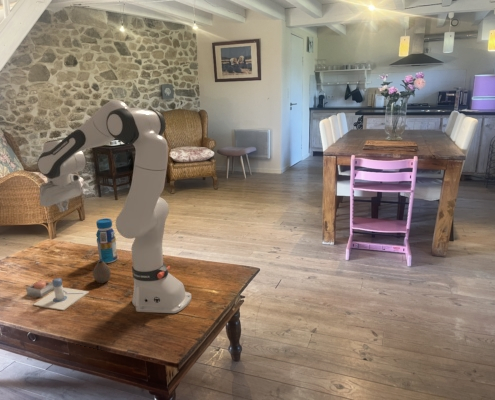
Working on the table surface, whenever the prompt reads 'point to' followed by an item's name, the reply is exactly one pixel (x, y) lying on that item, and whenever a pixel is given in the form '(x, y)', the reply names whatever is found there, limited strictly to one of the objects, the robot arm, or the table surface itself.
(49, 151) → the robot arm
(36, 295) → the button housing
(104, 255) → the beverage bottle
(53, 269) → the table surface
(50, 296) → the drawing pad
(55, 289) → the dome-topped peg
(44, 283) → the button
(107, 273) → the vase
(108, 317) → the table surface
